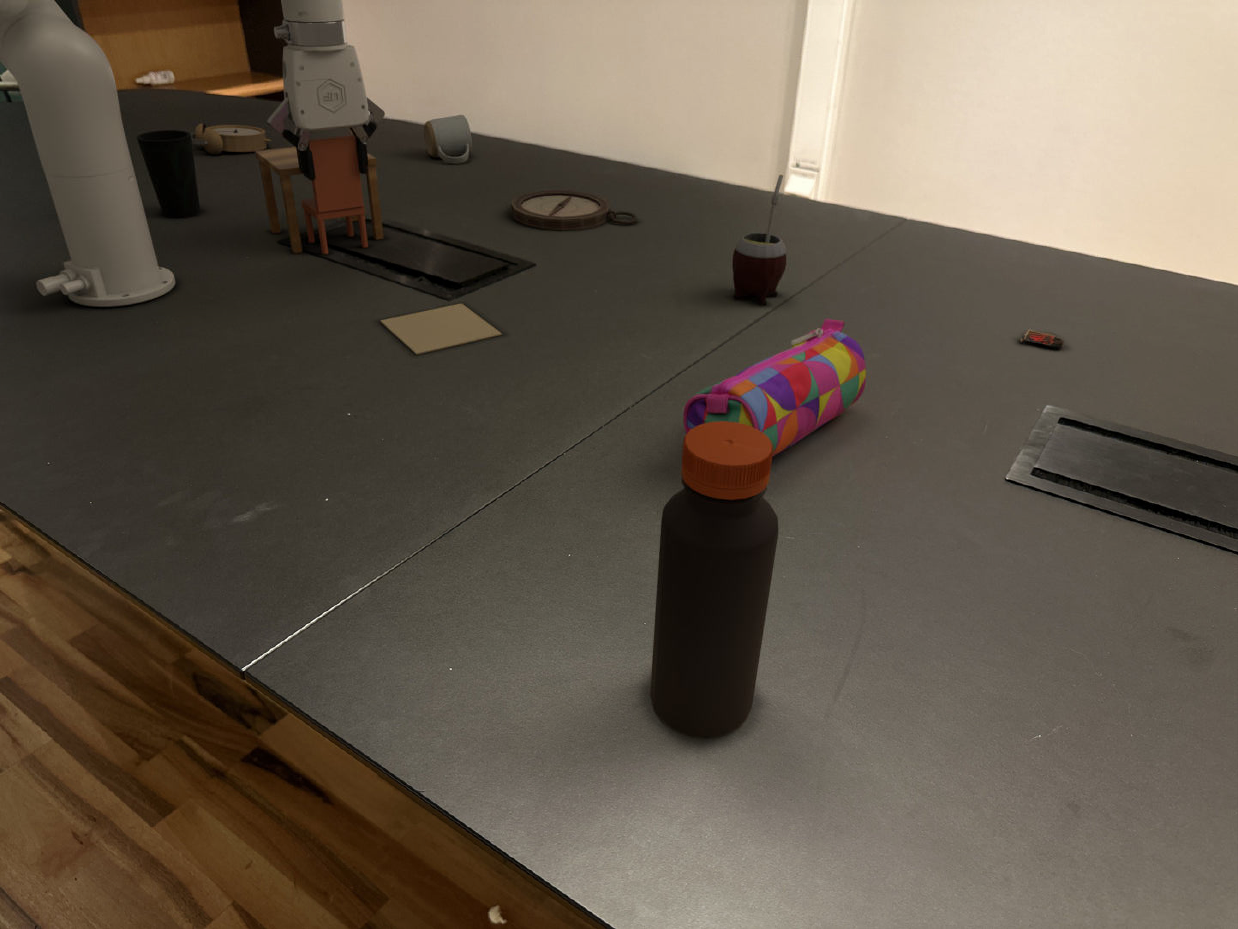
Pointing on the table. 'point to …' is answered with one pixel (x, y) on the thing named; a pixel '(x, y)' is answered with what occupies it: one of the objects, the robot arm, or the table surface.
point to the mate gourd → (759, 261)
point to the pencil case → (788, 388)
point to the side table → (286, 166)
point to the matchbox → (1043, 338)
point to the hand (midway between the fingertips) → (335, 173)
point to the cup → (171, 171)
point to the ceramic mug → (448, 138)
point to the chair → (335, 187)
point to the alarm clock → (229, 138)
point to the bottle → (713, 581)
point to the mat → (439, 328)
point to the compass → (564, 210)
